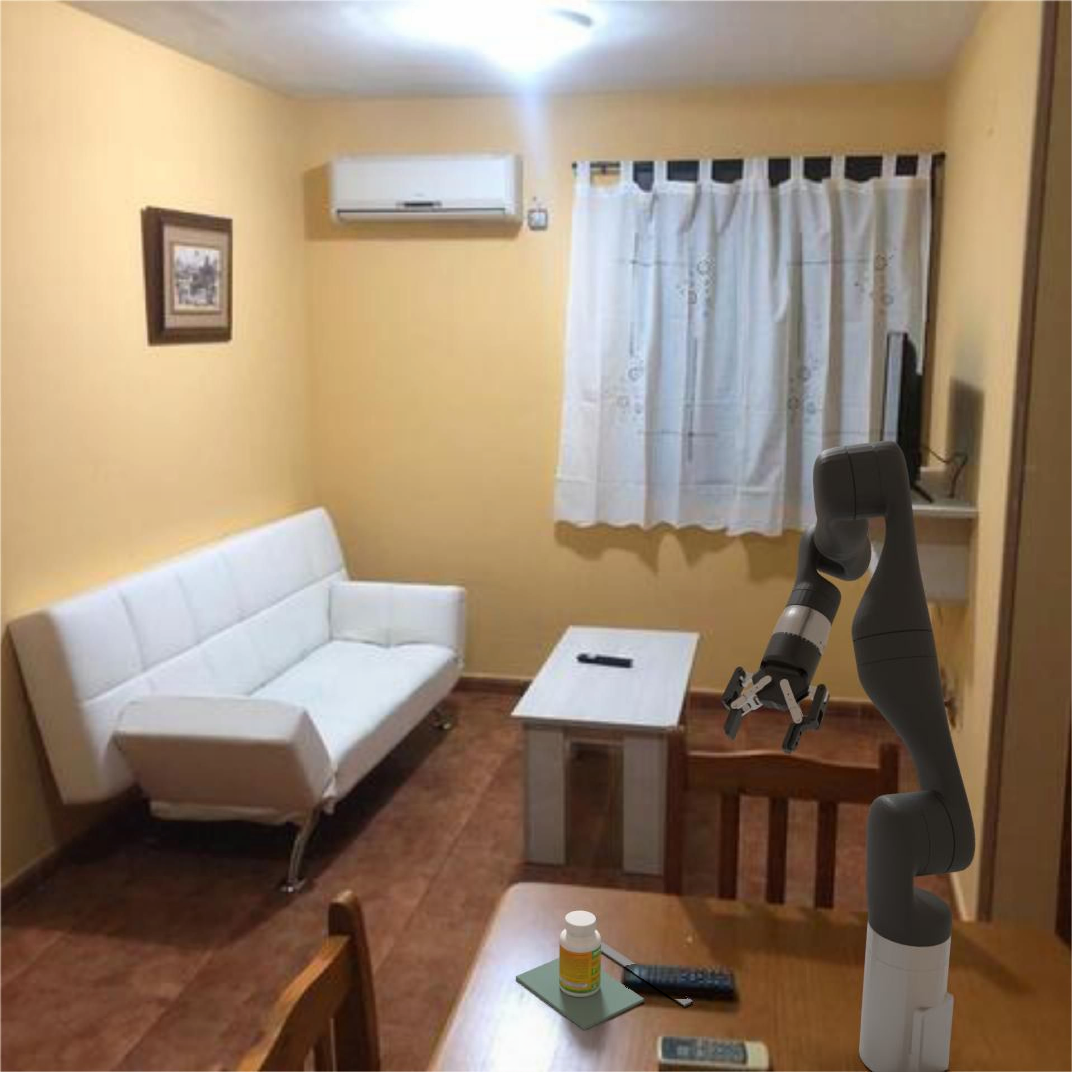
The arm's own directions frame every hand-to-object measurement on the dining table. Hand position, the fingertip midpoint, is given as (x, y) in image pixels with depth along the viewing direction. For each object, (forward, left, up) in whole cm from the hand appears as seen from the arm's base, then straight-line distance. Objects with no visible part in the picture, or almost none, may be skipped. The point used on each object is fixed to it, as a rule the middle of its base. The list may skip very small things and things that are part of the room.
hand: (757, 744), depth 159 cm
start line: (+4, +19, -29) cm, 34 cm away
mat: (+4, +28, -29) cm, 40 cm away
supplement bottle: (+4, +28, -28) cm, 40 cm away
